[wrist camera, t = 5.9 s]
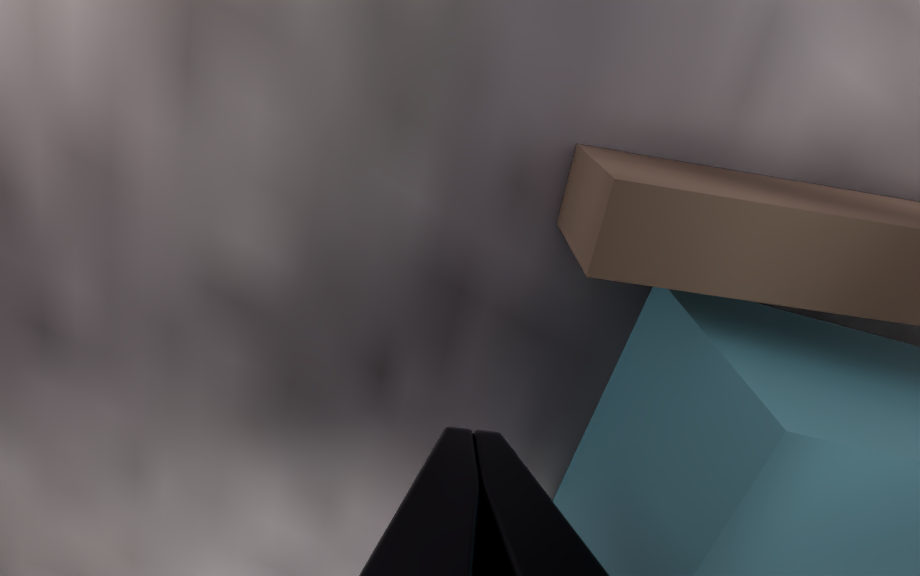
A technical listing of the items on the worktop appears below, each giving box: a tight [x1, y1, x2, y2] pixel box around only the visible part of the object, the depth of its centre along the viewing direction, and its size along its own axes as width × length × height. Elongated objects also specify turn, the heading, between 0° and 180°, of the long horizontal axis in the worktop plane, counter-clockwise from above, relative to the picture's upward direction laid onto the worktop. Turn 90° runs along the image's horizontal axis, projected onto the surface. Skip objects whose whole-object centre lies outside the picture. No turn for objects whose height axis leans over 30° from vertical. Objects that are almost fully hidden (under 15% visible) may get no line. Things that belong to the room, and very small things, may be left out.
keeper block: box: [553, 287, 920, 576], centre depth 9 cm, size 7×5×4 cm
